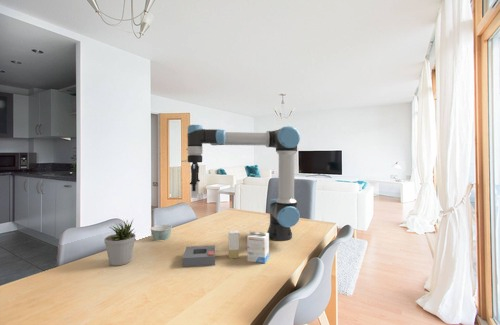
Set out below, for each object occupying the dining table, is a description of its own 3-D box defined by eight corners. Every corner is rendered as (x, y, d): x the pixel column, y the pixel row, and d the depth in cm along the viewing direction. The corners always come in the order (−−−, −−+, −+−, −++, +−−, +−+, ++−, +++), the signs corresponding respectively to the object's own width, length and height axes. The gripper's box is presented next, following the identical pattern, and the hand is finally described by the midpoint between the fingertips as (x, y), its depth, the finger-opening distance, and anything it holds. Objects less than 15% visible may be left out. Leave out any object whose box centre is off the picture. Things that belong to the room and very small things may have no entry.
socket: (214, 253, 124) (214, 244, 124) (215, 265, 110) (215, 254, 110) (186, 254, 122) (186, 245, 122) (182, 267, 108) (182, 256, 108)
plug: (237, 254, 123) (237, 230, 123) (238, 257, 119) (238, 232, 119) (228, 254, 123) (228, 230, 122) (229, 258, 118) (229, 233, 118)
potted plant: (103, 271, 104) (103, 224, 104) (105, 259, 116) (105, 217, 116) (136, 265, 110) (136, 220, 109) (134, 254, 122) (134, 214, 122)
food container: (155, 243, 139) (155, 231, 139) (147, 238, 148) (147, 227, 148) (175, 238, 147) (175, 227, 147) (167, 234, 156) (167, 223, 156)
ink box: (269, 256, 120) (269, 229, 120) (264, 263, 112) (264, 234, 112) (252, 254, 123) (252, 227, 123) (246, 261, 115) (246, 232, 115)
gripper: (189, 155, 141) (189, 192, 142) (184, 154, 117) (185, 199, 117) (203, 155, 142) (203, 192, 143) (201, 154, 118) (201, 199, 118)
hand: (195, 195), depth 130 cm, fingers open, 13 cm apart
